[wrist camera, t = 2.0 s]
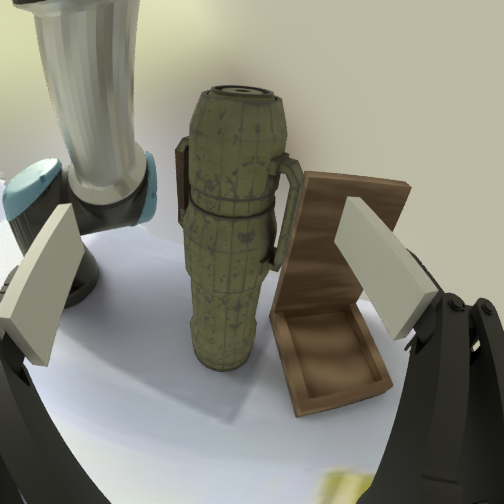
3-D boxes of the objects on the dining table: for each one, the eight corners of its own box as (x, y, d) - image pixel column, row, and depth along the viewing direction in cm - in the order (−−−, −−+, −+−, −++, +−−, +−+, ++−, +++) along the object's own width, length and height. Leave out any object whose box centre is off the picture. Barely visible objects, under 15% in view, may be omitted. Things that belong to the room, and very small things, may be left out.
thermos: (201, 311, 46) (204, 78, 23) (268, 339, 43) (328, 99, 20) (173, 351, 39) (140, 91, 16) (246, 385, 36) (307, 112, 14)
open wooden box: (269, 316, 46) (304, 170, 29) (346, 307, 49) (405, 181, 32) (296, 417, 33) (390, 299, 16) (384, 393, 36) (493, 278, 19)
